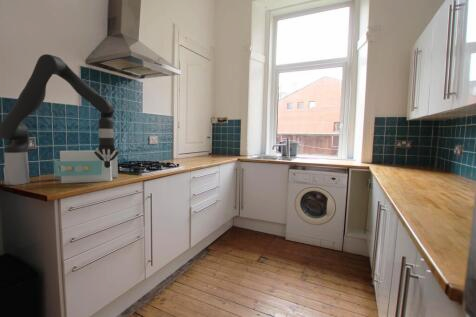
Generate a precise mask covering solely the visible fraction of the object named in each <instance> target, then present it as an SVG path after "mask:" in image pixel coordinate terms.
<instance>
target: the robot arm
mask: <svg viewBox="0 0 476 317" xmlns="http://www.w3.org/2000/svg"><path fill="white" fill-rule="evenodd" d="M53 75H56V76H58V77H60V78H62V79H63V80H65V82H66V83H68V84H69V85H70V86H71V87H72V89H73V90H74V91H75V92H76V93H77V94H78V95H79V96H80V97H82V98H83V99H84V100H85V101H86V102H89V104H90V105H92V107H93V108H95V109H96V110H97V111H98V112H99V114H100V116H99V117H100V118H99V120H98V147H97V148H98V150H97V151H96V150H94V151H95V152H94V153H95V154H96V156H97V157H98V158H99V159H100V160H103V161H104V166H105V167H106V168H109V167H110V166H111V165H110V161H111V160H114V159H115V157H116V156H117V157H118V155H119V154H120V151H118V150H117V149H116V147H115V131H114V121H113V120H114V113H115V109H114V105H113V104H112V102H110V101H109V100H107V99H105V98H104V97H103V96H101V95H100V94H99V92H98V91H96V89H94V88H93V87H91V86H90V85H89V84H88V83H87V82H85V81H84V80H83V79H82V78H80V77H79V75H77V73H75V72H74V71H73V70H72V69H71V68H70V67H69V65H68V64H67V63H66V62H65V61H64V60H63V59H61V57H59V56H56V55H52V54H49V53H45V54H42V55H41V56H39V57H38V59H37V61H36V63H35V66H34V69H33V71H32V74H31V75H30V77H29V78H28V81H27V82H26V84H25V86H24V88H23V89H22V91H21V92H20V94H19V95H18V98H17V100H16V102H15V103H14V105H13V106H12V107H11V109H10V111H9V112H8V114H7V115H6V116H5V118H4V119H3V120H2V121H1V123H0V139H3V140H7V141H10V140H11V143H10V144H9V145H6V146H5V147H4V148H3V149H4V150H3V151H4V162H5V164H4V165H5V166H4V167H3V176H4V177H3V179H4V185H6V186H7V185H8V186H14V185H15V186H16V185H25V184H29V183H30V170H29V169H30V168H29V158H28V155H29V154H28V149H29V145H30V143H29V142H30V141H29V139H30V138H29V137H30V135H29V134H30V133H29V129H28V126H27V125H26V124H25V123H23V122H22V121H23V120H24V119H26V118H27V117H29V116H30V115H31V114H33V113H35V112H36V111H38V110H39V109H40V107H41V106H42V104H43V103H44V101H45V98H46V93H47V89H46V88H47V85H48V82H49V80H50V79H51V77H52V76H53ZM99 151H100V152H101V154H102V155H103V157H104V158H103V157H102V156H101V155H100V152H99ZM114 151H115V152H114ZM113 152H114V153H115V154H114V156H113V157H112V158H111V154H112V153H113ZM107 157H108V158H107Z"/></svg>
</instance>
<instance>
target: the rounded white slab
mask: <svg viewBox="0 0 476 317" xmlns="http://www.w3.org/2000/svg"><path fill="white" fill-rule="evenodd" d="M98 148H99V147H96V149H95V151H97V150H98ZM114 152H115V151H114ZM114 152H113V153H112V154H111V158H112V157H113V156H114V154H115V153H114ZM118 174H119V172H118V155H117V156H116V157H115V159H114V160H111V176H112V179H115V178H116V177H117V178H118V177H119V175H118Z"/></svg>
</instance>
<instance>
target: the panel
mask: <svg viewBox="0 0 476 317" xmlns="http://www.w3.org/2000/svg"><path fill="white" fill-rule="evenodd" d="M54 165H55V166H54ZM76 165H82V167H84V166H88V167H89V170H87V171H85V170H84V169H82V171H76ZM53 166H54V175H55V177H56V176H81V175H102V160H94V161H54V160H53ZM59 166H65V167H68V166H70V167H72V170H71V171H67V170H65V171H59Z"/></svg>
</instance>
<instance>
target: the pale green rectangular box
mask: <svg viewBox="0 0 476 317" xmlns="http://www.w3.org/2000/svg"><path fill="white" fill-rule="evenodd" d="M95 151H96V150H60V151H59V159H60V161H94V160H100V159H99V158H98V157H97V156H96V154H95V153H94V152H95ZM99 152H100V151H99ZM100 155H101V156H102V157H103V155H102V154H101V152H100ZM103 158H104V157H103ZM107 158H108V157H107ZM110 165H111V161H110ZM82 169H84V170H85V171H87V170H89V167H88V166H84V167H82V165H76V171H82ZM65 170H67V171H71V170H72V167H70V166H68V167H65V166H61V171H65ZM112 181H113V178H112V176H111V166H110V167H109V168H106V167H105V166H104V161H103V160H102V175H81V176H61V180H60V184H74V183H75V184H76V183H96V182H97V183H99V182H101V183H102V182H112Z"/></svg>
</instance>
